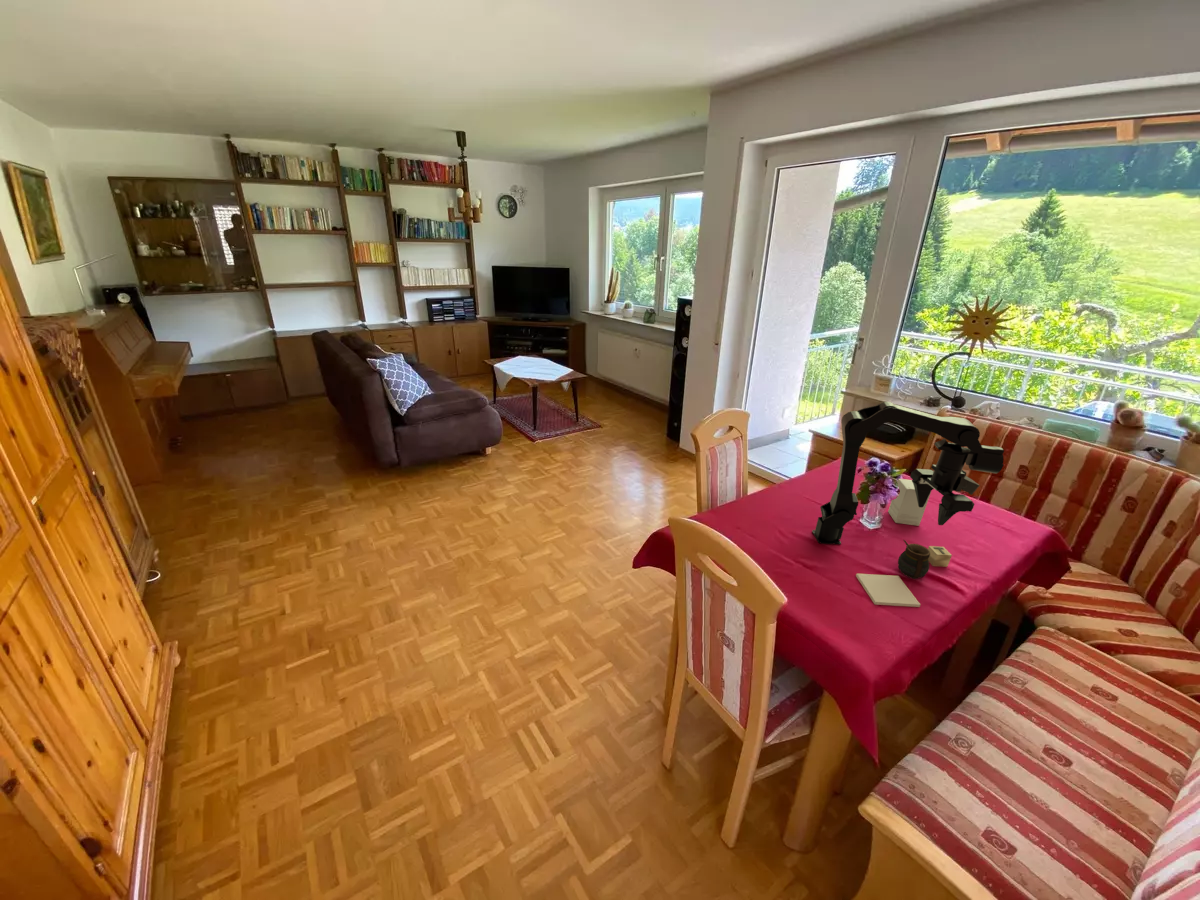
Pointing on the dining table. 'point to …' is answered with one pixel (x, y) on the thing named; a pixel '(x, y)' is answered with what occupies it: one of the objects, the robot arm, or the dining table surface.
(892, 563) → the dining table surface
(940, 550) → the letter cube
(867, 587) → the cream square tile
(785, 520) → the dining table surface
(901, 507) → the supplement box
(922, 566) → the mate gourd
